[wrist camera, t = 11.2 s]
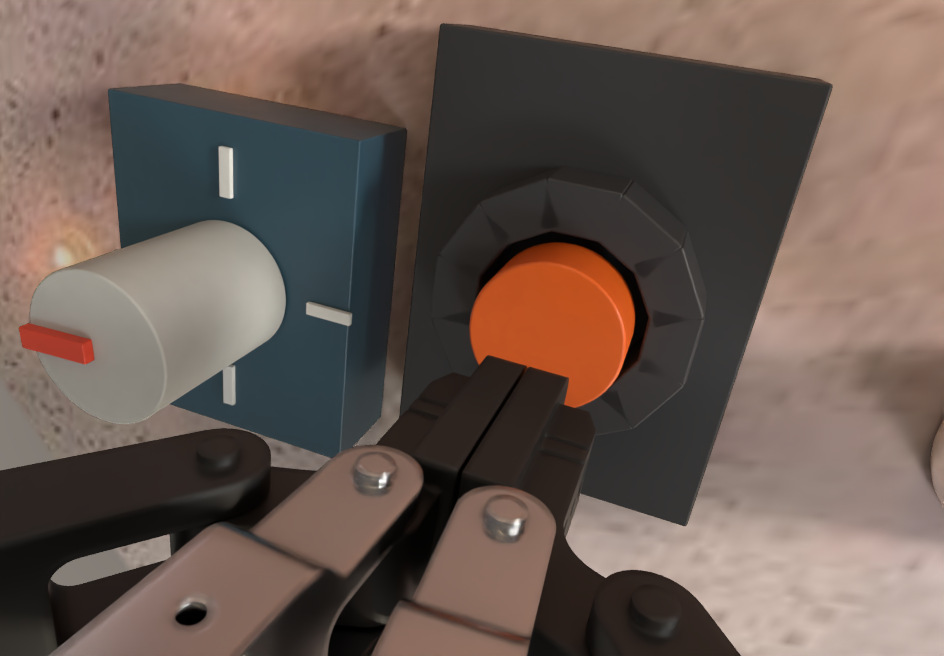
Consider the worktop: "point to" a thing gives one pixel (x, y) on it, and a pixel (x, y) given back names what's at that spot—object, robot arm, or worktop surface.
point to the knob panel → (277, 244)
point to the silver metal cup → (938, 463)
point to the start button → (557, 317)
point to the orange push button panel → (613, 224)
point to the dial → (154, 318)
